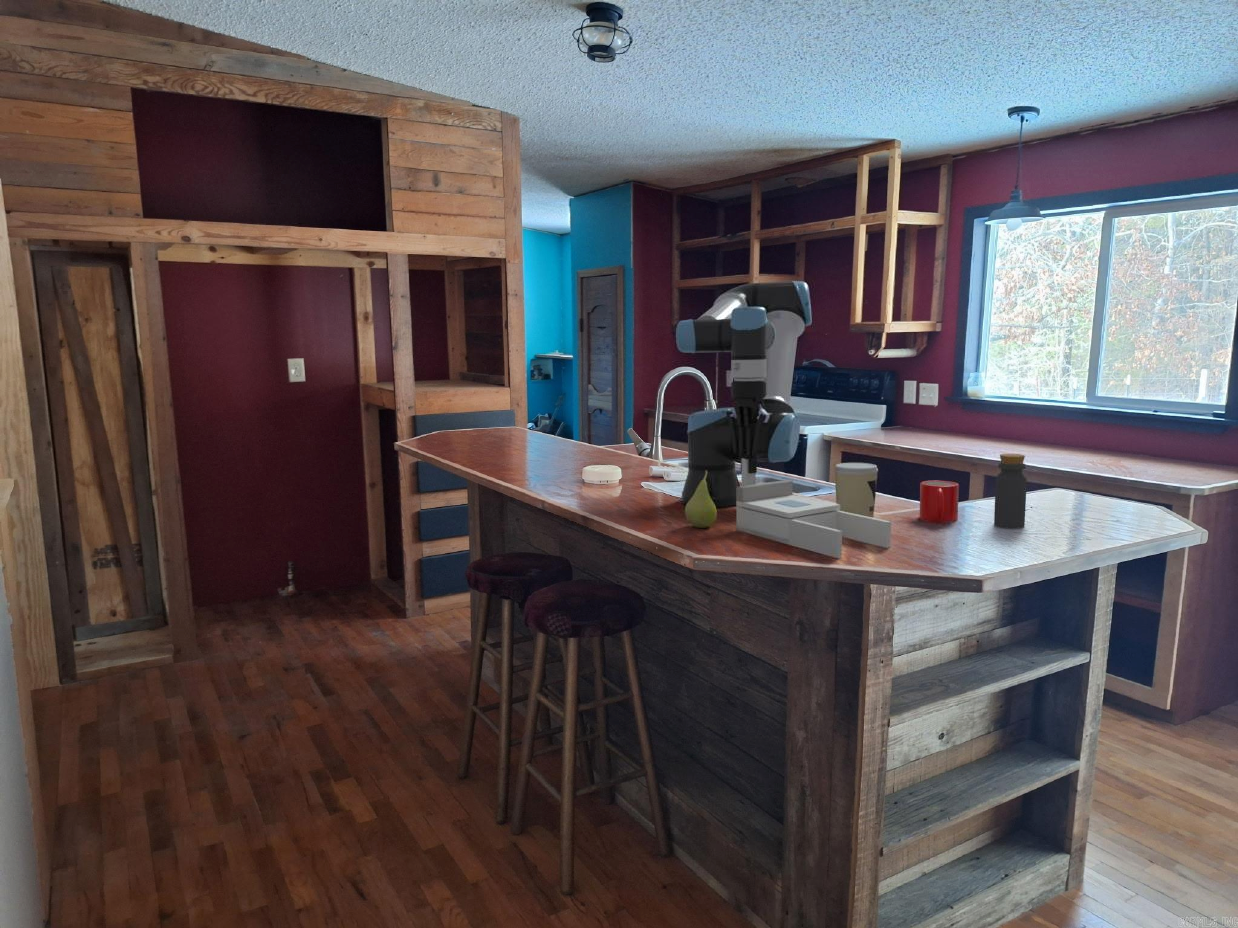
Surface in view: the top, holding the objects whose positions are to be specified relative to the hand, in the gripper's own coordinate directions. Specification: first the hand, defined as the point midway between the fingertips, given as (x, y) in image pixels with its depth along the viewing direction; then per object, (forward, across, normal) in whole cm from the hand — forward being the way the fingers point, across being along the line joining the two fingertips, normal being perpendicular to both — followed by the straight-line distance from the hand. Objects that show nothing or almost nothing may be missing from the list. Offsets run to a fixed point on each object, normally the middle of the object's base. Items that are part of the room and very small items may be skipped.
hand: (748, 487), depth 183 cm
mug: (+8, +23, +34) cm, 42 cm away
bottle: (+8, +35, +42) cm, 55 cm away
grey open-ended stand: (+8, +19, 0) cm, 20 cm away
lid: (+3, +12, 0) cm, 12 cm away
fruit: (+8, -3, -11) cm, 14 cm away
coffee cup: (+8, +11, +21) cm, 25 cm away
